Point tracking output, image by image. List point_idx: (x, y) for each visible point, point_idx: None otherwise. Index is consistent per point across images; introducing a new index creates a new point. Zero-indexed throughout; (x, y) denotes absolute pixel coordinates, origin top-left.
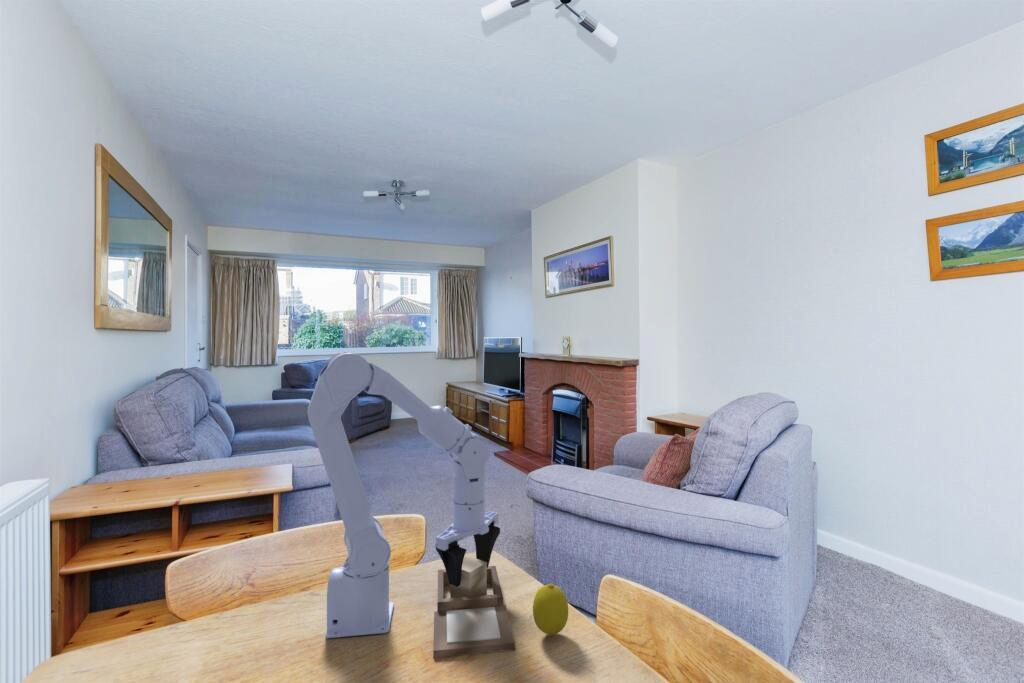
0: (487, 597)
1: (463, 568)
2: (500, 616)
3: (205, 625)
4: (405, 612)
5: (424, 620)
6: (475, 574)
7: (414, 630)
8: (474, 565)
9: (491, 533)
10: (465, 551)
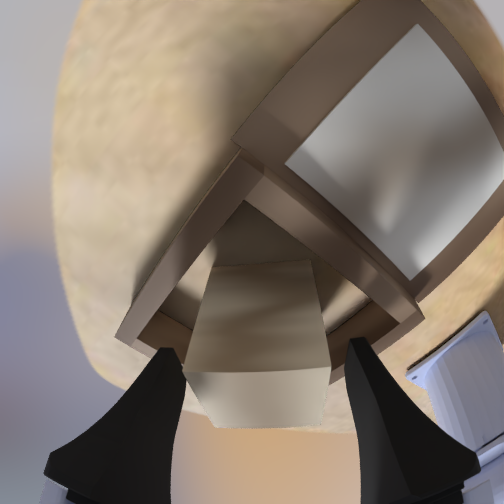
0: (299, 212)
1: (315, 397)
2: (315, 99)
3: None
4: (416, 344)
5: (428, 298)
6: (280, 347)
7: (465, 283)
8: (255, 388)
9: (104, 494)
10: (416, 485)
